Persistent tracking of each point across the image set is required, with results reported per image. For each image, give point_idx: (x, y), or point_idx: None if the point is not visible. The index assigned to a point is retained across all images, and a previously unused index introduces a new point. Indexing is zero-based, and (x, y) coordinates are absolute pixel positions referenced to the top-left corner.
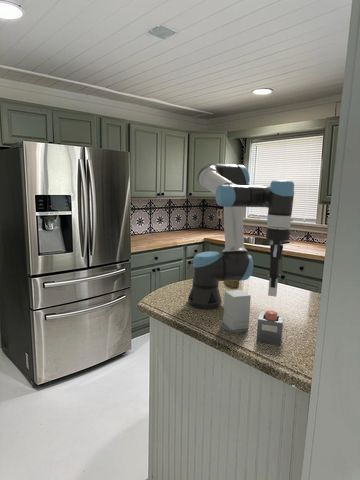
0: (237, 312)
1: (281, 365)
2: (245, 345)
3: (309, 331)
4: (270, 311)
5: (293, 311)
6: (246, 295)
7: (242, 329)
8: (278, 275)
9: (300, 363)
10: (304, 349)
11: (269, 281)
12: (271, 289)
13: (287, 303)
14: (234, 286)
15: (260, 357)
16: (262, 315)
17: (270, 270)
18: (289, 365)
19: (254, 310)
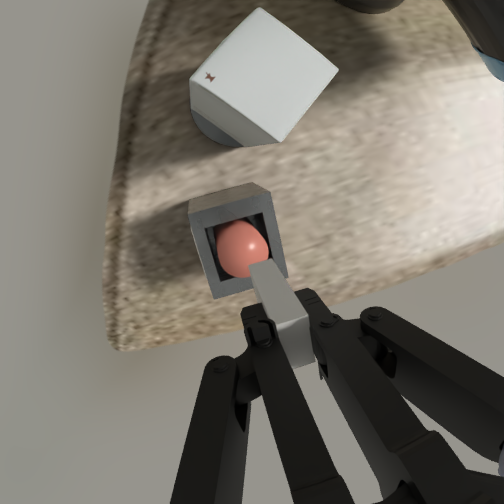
0: (208, 110)
1: (112, 303)
2: (139, 186)
3: (349, 293)
4: (255, 245)
5: (447, 217)
6: (264, 123)
7: (222, 134)
8: (319, 371)
9: (154, 332)
10: (232, 319)
11: (266, 309)
12: (258, 297)
13: (480, 188)
14: None
15: (108, 250)
16: (237, 213)
17: (196, 415)
18: (127, 316)
19: (405, 114)
